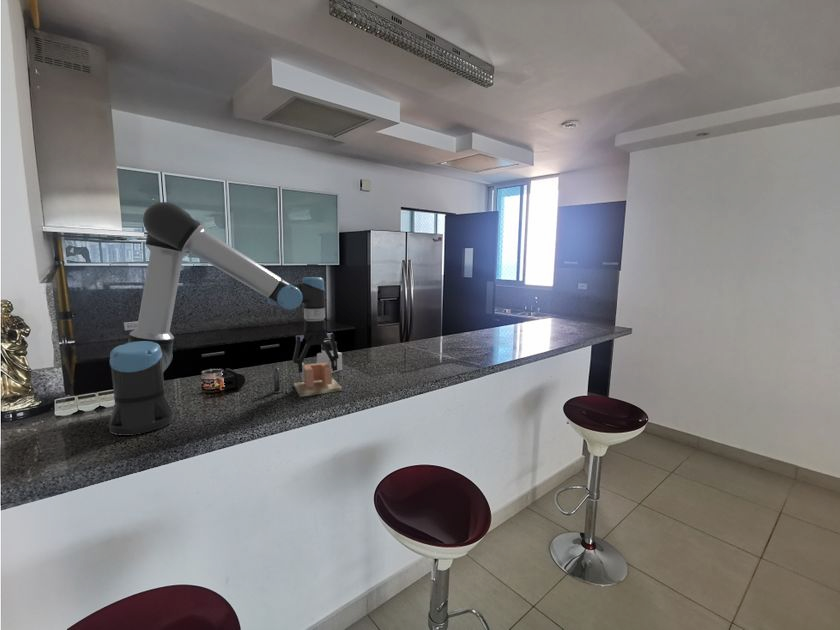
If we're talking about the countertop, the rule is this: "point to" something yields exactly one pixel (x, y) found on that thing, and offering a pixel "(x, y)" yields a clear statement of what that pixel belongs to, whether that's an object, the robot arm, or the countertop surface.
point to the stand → (276, 380)
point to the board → (316, 388)
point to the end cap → (232, 380)
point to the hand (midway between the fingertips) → (316, 379)
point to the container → (324, 357)
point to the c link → (317, 373)
